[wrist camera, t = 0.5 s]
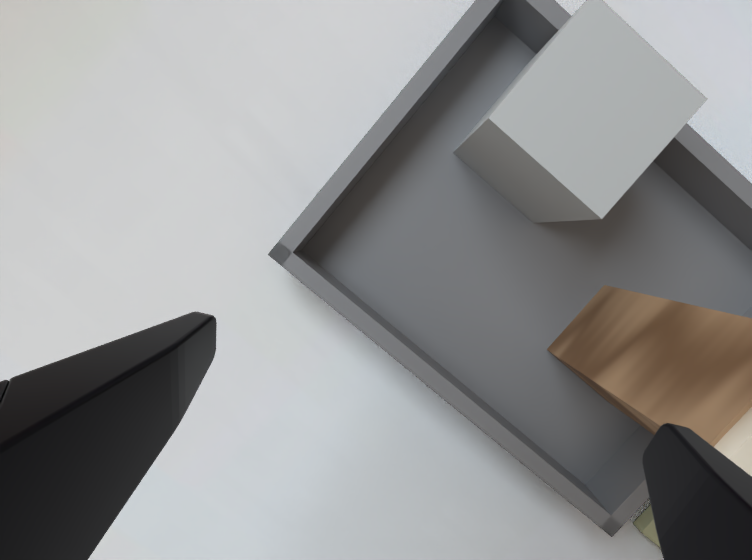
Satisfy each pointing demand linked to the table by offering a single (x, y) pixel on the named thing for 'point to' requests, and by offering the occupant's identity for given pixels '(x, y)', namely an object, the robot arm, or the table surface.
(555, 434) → the tray
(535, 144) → the grey box
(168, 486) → the table surface
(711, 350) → the walnut box
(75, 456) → the robot arm
